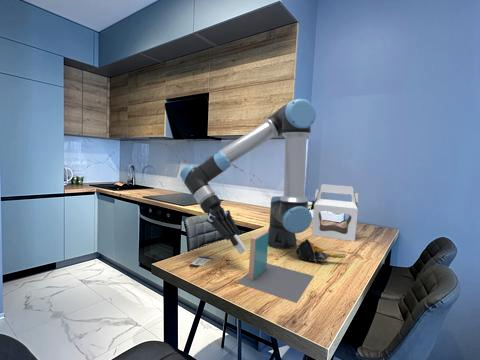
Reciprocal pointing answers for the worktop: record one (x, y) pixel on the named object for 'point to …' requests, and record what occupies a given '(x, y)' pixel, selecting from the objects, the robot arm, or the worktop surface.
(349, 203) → the gable box
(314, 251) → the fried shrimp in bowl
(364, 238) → the worktop surface
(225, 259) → the worktop surface
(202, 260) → the chocolate bar
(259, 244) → the tile
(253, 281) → the mat
